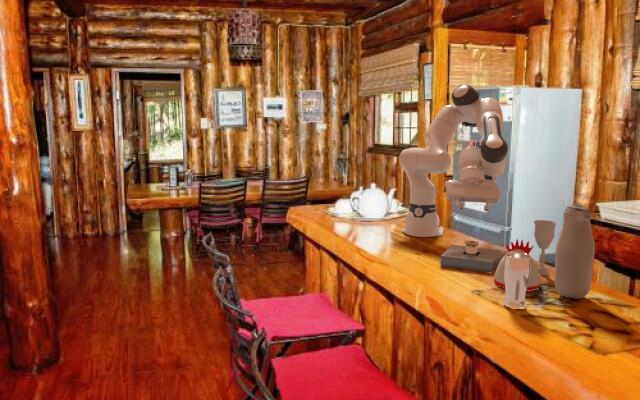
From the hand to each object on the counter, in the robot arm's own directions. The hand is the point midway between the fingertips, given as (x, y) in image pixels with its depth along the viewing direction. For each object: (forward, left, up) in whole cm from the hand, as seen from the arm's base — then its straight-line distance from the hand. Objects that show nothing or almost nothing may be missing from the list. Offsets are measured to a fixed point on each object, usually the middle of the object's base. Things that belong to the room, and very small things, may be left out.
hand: (473, 209), depth 201 cm
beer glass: (+49, +22, -19) cm, 57 cm away
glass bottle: (+33, +36, -19) cm, 52 cm away
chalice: (+11, +26, -19) cm, 34 cm away
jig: (+10, +2, -18) cm, 21 cm away
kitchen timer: (+28, +20, -19) cm, 39 cm away
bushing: (+9, +2, -18) cm, 21 cm away
